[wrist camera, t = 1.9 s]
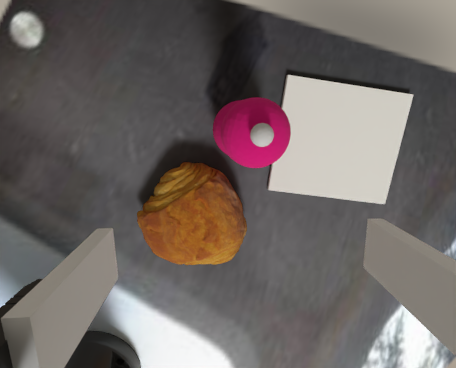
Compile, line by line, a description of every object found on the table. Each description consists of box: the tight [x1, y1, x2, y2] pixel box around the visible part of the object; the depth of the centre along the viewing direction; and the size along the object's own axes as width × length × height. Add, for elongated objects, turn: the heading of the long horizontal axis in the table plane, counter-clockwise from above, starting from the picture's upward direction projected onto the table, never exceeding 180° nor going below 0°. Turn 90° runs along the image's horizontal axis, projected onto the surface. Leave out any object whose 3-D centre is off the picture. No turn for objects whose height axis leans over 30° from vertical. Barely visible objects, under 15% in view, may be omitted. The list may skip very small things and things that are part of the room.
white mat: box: [267, 75, 413, 204], centre depth 41 cm, size 18×16×1 cm
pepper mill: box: [213, 97, 291, 168], centre depth 30 cm, size 7×7×20 cm
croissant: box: [137, 162, 247, 265], centre depth 39 cm, size 14×16×8 cm
